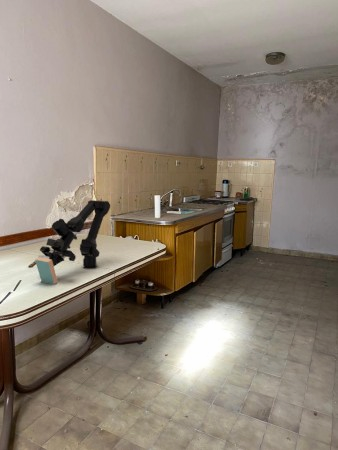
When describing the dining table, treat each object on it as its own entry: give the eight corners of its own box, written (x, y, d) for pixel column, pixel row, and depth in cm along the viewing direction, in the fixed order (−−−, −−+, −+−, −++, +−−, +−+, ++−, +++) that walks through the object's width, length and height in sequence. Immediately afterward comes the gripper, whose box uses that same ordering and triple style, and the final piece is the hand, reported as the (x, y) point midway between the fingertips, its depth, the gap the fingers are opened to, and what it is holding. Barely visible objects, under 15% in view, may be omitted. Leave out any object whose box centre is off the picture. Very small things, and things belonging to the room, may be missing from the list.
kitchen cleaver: (42, 266, 178) (24, 265, 177) (42, 268, 178) (23, 267, 177) (55, 256, 202) (39, 254, 201) (55, 257, 202) (39, 256, 201)
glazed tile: (45, 278, 158) (39, 257, 153) (57, 281, 155) (51, 259, 150) (41, 281, 156) (35, 259, 151) (53, 284, 153) (47, 262, 148)
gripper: (42, 230, 160) (24, 256, 152) (71, 234, 152) (54, 262, 144) (54, 243, 168) (38, 268, 160) (82, 247, 160) (67, 274, 152)
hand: (48, 268), depth 154 cm, fingers closed
